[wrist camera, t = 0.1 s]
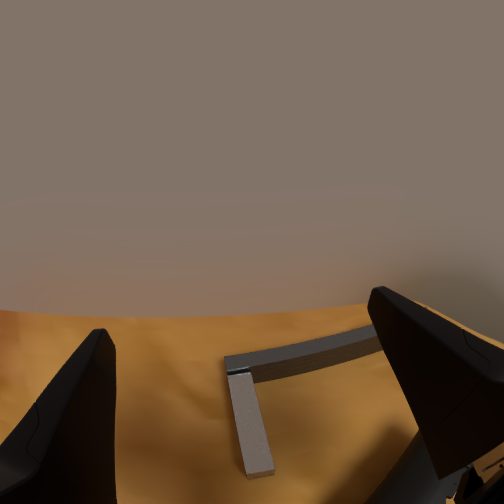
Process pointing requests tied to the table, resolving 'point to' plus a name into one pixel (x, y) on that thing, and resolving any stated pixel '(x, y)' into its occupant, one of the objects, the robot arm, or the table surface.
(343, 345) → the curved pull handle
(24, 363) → the table surface
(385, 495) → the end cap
